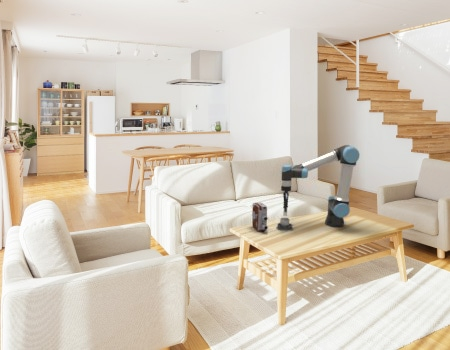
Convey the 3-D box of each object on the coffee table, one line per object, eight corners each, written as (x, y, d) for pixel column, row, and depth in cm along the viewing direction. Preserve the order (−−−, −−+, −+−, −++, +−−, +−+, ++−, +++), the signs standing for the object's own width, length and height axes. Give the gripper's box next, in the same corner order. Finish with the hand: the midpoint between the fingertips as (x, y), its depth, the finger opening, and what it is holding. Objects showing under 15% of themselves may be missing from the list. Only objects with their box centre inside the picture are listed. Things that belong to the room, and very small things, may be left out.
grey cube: (288, 226, 308) (288, 217, 307) (289, 229, 301) (290, 220, 300) (279, 226, 308) (279, 217, 307) (280, 229, 301) (281, 219, 300)
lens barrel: (292, 226, 311) (292, 222, 310) (294, 231, 298) (294, 227, 298) (275, 225, 312) (275, 222, 311) (276, 230, 299) (277, 227, 298)
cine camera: (259, 234, 291) (259, 208, 287) (250, 226, 309) (250, 201, 306) (270, 233, 293) (271, 207, 290) (261, 225, 312) (262, 201, 308)
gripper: (280, 183, 306) (279, 213, 310) (281, 187, 293) (280, 217, 297) (290, 184, 305) (289, 213, 309) (292, 187, 293) (290, 218, 297)
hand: (285, 215), depth 303 cm, fingers closed
